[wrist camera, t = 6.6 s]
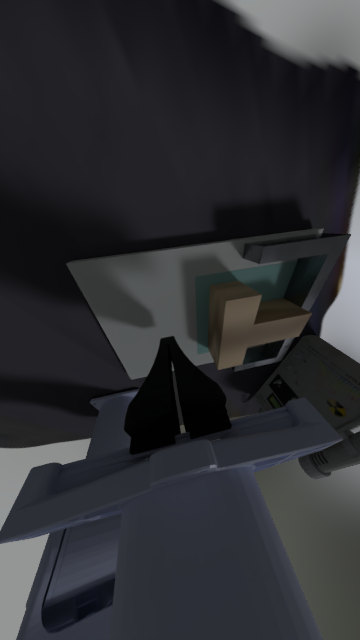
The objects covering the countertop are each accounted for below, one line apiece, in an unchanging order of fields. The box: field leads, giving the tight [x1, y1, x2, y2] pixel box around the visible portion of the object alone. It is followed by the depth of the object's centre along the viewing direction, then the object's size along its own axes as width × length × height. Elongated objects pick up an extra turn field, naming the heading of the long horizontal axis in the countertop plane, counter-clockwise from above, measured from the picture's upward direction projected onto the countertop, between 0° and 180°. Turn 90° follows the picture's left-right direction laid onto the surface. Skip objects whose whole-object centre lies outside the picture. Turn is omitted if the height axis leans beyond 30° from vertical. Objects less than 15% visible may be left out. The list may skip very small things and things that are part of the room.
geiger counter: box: [255, 335, 360, 479], centre depth 24 cm, size 14×6×25 cm
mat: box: [66, 229, 324, 380], centre depth 16 cm, size 16×22×1 cm
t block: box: [208, 281, 312, 370], centre depth 15 cm, size 9×9×4 cm
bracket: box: [232, 233, 351, 372], centre depth 15 cm, size 15×7×2 cm, turn 6°
